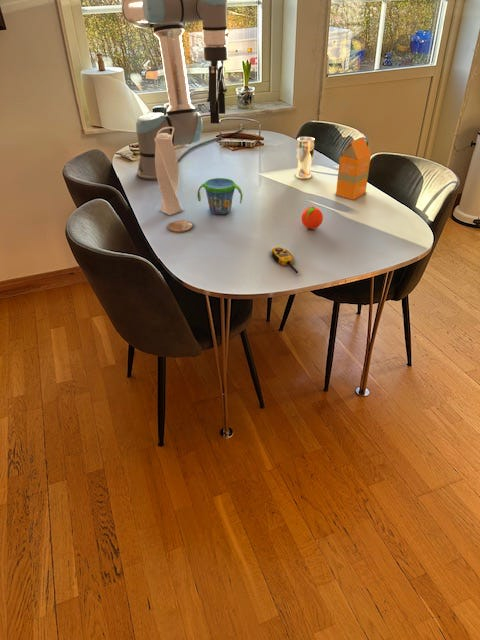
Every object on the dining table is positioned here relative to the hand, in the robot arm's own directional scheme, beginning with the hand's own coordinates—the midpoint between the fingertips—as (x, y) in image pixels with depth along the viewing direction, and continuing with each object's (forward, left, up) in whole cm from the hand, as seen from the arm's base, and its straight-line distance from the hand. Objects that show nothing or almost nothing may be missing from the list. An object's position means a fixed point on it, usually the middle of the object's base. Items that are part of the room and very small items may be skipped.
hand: (218, 118), depth 159 cm
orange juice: (-10, +48, -29) cm, 57 cm away
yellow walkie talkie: (+46, +26, -29) cm, 60 cm away
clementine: (+22, +33, -29) cm, 49 cm away
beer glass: (-28, +30, -29) cm, 50 cm away
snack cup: (+11, +1, -29) cm, 31 cm away
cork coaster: (+25, -10, -29) cm, 39 cm away
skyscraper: (+12, -16, -29) cm, 35 cm away
